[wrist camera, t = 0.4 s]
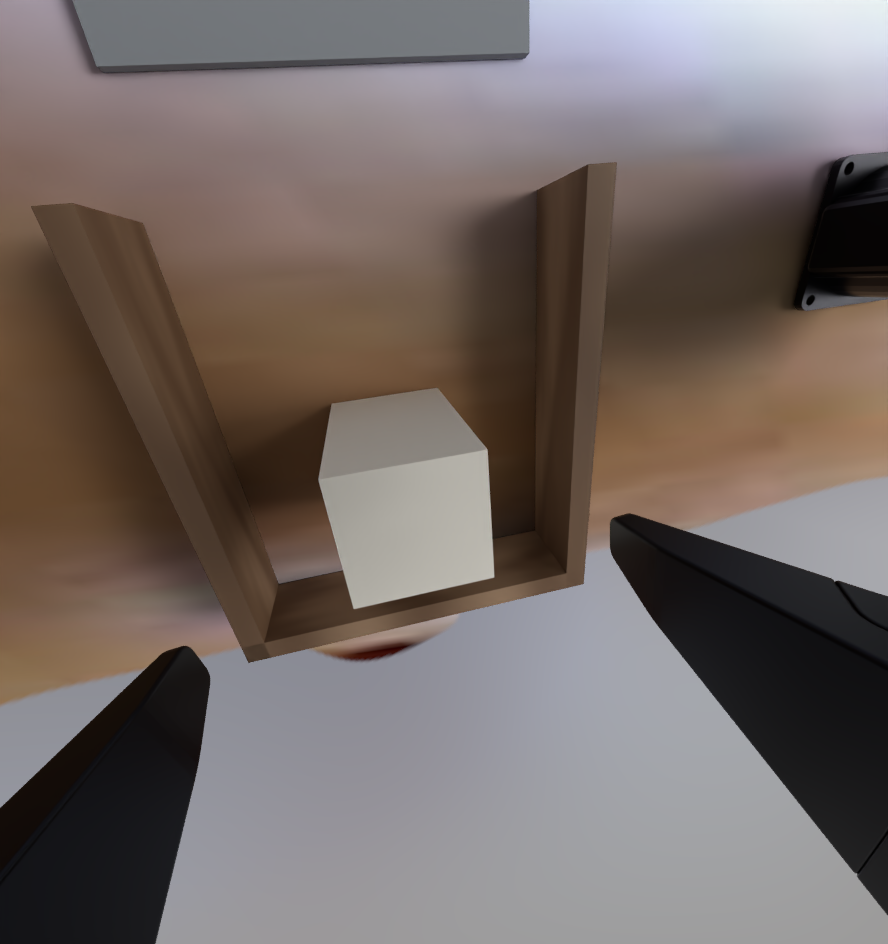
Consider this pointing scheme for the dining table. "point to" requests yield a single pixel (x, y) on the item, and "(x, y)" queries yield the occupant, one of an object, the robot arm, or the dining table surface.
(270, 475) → the dining table surface
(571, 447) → the u-shaped frame
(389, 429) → the block
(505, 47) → the mat
